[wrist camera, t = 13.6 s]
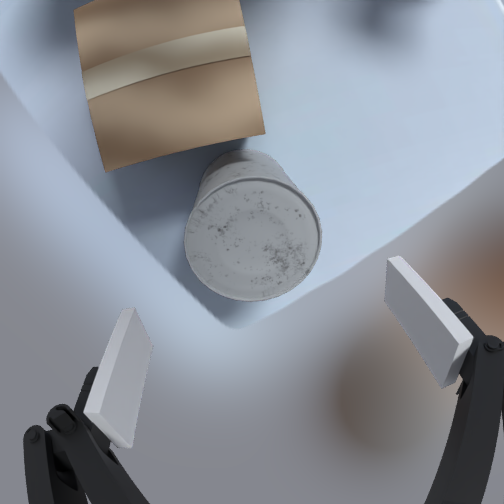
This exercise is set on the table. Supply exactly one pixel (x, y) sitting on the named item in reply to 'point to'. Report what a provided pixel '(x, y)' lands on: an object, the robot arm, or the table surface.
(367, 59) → the table surface
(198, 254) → the grey cylinder
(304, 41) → the table surface
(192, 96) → the lid
